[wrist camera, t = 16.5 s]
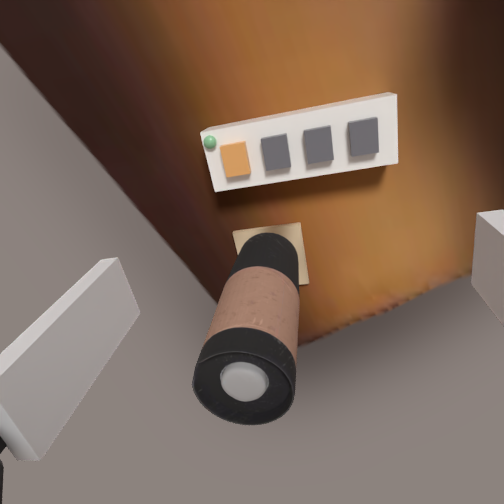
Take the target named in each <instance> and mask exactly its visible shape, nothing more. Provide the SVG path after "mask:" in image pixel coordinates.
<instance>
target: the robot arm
mask: <svg viewBox="0 0 504 504" xmlns="http://www.w3.org/2000/svg"><path fill="white" fill-rule="evenodd" d="M471 285H472V286H473V287H474V288H475V290H476V291H477V292H478V293H479V295H480V296H481V298H482V299H483V300H484V302H485V303H486V304H487V305H488V307H489V308H490V309H491V311H492V312H493V313H494V314H495V316H496V317H497V318H498V320H499V321H500V322H501V324H502V325H503V326H504V210H495V211H487V212H479V213H477V217H476V229H475V241H474V254H473V266H472V278H471ZM139 314H140V310H139V308H138V305H137V303H136V301H135V298H134V296H133V293H132V290H131V288H130V286H129V283H128V281H127V278H126V276H125V273H124V271H123V268H122V266H121V263H120V261H119V259H118V257H117V258H109V259H101V260H100V261H99V262H98V263H97V264H96V265H95V266H94V267H93V268H92V269H91V270H90V271H89V272H87V273H86V274H85V275H84V276H83V277H82V278H81V279H80V280H79V281H78V282H77V283H76V284H75V285H73V287H71V288H70V289H69V290H68V291H67V292H66V293H65V294H64V295H63V296H62V297H61V298H60V299H59V300H57V301H56V302H55V303H54V304H53V305H52V306H51V307H50V308H49V309H48V310H47V311H46V312H45V313H44V314H42V315H41V316H40V317H39V318H38V319H37V320H36V321H35V322H34V323H33V324H32V325H31V326H30V327H29V328H27V329H26V330H25V331H24V332H23V333H22V334H21V335H20V336H19V337H18V338H17V339H15V340H14V341H13V342H12V343H11V344H10V345H9V346H8V347H7V348H6V349H5V350H4V351H3V352H2V353H1V354H0V453H1V452H2V451H3V449H4V448H5V447H6V446H7V447H8V449H9V450H10V451H11V453H12V454H13V455H14V457H15V458H16V459H17V460H41V459H42V458H43V456H44V455H45V453H46V452H47V450H48V449H49V447H50V446H51V444H52V443H53V441H54V440H55V439H56V437H57V436H58V434H59V433H60V431H61V430H62V428H63V427H64V425H65V424H66V422H67V421H68V419H69V418H70V416H71V415H72V413H73V412H74V410H75V409H76V407H77V406H78V404H79V403H80V401H81V400H82V398H83V397H84V396H85V394H86V393H87V391H88V390H89V388H90V387H91V385H92V384H93V382H94V381H95V379H96V378H97V376H98V375H99V373H100V372H101V371H102V369H103V367H104V366H105V365H106V363H107V362H108V360H109V359H110V357H111V356H112V354H113V353H114V351H115V350H116V348H117V347H118V345H119V344H120V342H121V341H122V339H123V338H124V336H125V335H126V333H127V332H128V331H129V329H130V328H131V326H132V325H133V323H134V322H135V320H136V318H137V317H138V316H139ZM3 468H4V467H3V464H2V461H1V460H0V504H2V489H3Z"/></svg>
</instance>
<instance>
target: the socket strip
mask: <svg viewBox="0 0 504 504" xmlns="http://www.w3.org/2000/svg"><path fill="white" fill-rule="evenodd" d="M200 134H201V138H202V142H203V146H204V150H205V154H206V158H207V162H208V166H209V170H210V174H211V178H212V182H213V186H214V190H215V192H218V191H225V190H231V189H238V188H244V187H250V186H257V185H263V184H269V183H276V182H282V181H289V180H295V179H301V178H308V177H314V176H320V175H327V174H333V173H340V172H346V171H352V170H359V169H365V168H371V167H378V166H384V165H390V164H397V163H398V127H397V94H394V93H390V92H386V93H381V94H376V95H371V96H366V97H361V98H356V99H350V100H345V101H340V102H335V103H330V104H325V105H320V106H315V107H310V108H305V109H300V110H295V111H290V112H284V113H279V114H274V115H269V116H264V117H259V118H254V119H249V120H244V121H239V122H234V123H229V124H224V125H218V126H213V127H209V128H207V129H205V130H204V131H202V132H200Z"/></svg>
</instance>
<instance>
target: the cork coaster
mask: <svg viewBox="0 0 504 504" xmlns="http://www.w3.org/2000/svg"><path fill="white" fill-rule="evenodd" d="M260 233H275V234H279V235H281V236H283V237H285V238H286V239H288V240H289V241H290V242H291V243H292V244H293V246H294V247H295V249H296V251H297V254H298V262H299V285H301V284H309V277H308V270H307V264H306V257H305V250H304V243H303V237H302V230H301V223H300V222H298V223H290V224H283V225H275V226H268V227H260V228H252V229H245V230H237V231H233V237H234V241H235V245H236V249H237V253H238V254H239V252H240V250H241V248H242V246H243V245H244V243H245V242H246V241H247V240H248V239H249V238H251V237H252V236H254V235H257V234H260Z"/></svg>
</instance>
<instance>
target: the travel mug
mask: <svg viewBox="0 0 504 504" xmlns="http://www.w3.org/2000/svg"><path fill="white" fill-rule="evenodd" d="M298 320H299V262H298V254H297V251H296V249H295V247H294V246H293V244H292V243H291V242H290V241H289V240H288V239H286V238H285V237H283V236H281V235H279V234H275V233H260V234H257V235H254V236H252V237H251V238H249V239H248V240H247V241H246V242H245V243H244V245H243V246H242V248H241V250H240V252H239V254H238V257H237V259H236V261H235V263H234V266H233V268H232V270H231V273H230V275H229V277H228V279H227V282H226V284H225V286H224V289H223V292H222V295H221V297H220V300H219V303H218V306H217V308H216V311H215V315H214V317H213V320H212V322H211V325H210V328H209V331H208V333H207V336H206V339H205V342H204V344H203V347H202V350H201V353H200V356H199V358H198V361H197V364H196V367H195V371H194V377H193V381H192V387H193V391H194V393H195V395H196V397H197V399H198V400H199V401H200V403H201V404H202V405H203V406H204V407H205V408H206V409H207V410H208V411H210V412H211V413H212V414H214V415H216V416H217V417H219V418H221V419H224V420H226V421H229V422H233V423H236V424H242V425H261V424H266V423H269V422H272V421H274V420H277V419H278V418H280V417H282V416H283V415H284V414H285V413H286V412H287V411H288V410H289V408H290V407H291V405H292V403H293V400H294V395H295V381H296V380H295V379H296V360H297V340H298Z"/></svg>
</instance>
